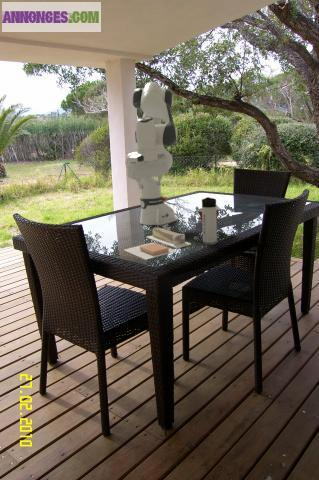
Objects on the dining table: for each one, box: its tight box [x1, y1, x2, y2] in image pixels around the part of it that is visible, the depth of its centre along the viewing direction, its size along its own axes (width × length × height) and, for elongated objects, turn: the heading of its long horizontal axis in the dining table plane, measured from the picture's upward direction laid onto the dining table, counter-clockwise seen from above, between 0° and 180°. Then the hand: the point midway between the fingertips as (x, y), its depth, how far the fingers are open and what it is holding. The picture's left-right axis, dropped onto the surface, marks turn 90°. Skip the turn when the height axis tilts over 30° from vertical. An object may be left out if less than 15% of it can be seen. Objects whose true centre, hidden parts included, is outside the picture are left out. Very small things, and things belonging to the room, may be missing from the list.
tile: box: [140, 242, 170, 255], centre depth 168 cm, size 8×2×10 cm
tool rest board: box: [145, 234, 192, 249], centre depth 181 cm, size 8×24×1 cm, turn 35°
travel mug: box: [201, 196, 218, 246], centre depth 175 cm, size 6×7×20 cm
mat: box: [123, 241, 177, 260], centre depth 169 cm, size 16×18×1 cm
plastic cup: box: [197, 206, 221, 224], centre depth 193 cm, size 11×11×12 cm
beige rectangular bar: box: [152, 227, 186, 245], centre depth 181 cm, size 6×19×4 cm, turn 35°
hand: (149, 186), depth 179 cm, fingers open, 8 cm apart
